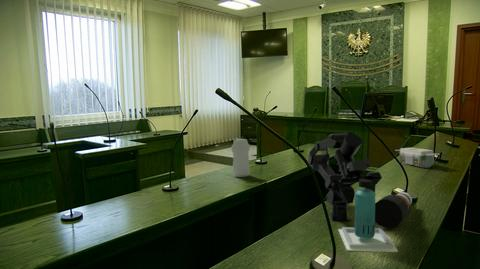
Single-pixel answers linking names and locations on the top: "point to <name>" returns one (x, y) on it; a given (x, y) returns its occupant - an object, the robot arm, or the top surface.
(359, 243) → the white square tray
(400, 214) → the black cylinder
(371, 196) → the beverage bottle
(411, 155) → the electrical outlet
